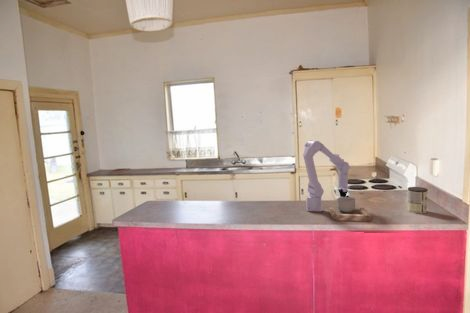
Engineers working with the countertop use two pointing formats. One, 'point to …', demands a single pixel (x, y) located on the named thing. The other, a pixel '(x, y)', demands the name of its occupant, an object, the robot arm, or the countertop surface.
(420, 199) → the coffee can
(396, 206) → the countertop surface
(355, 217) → the wooden bay
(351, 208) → the teacup
